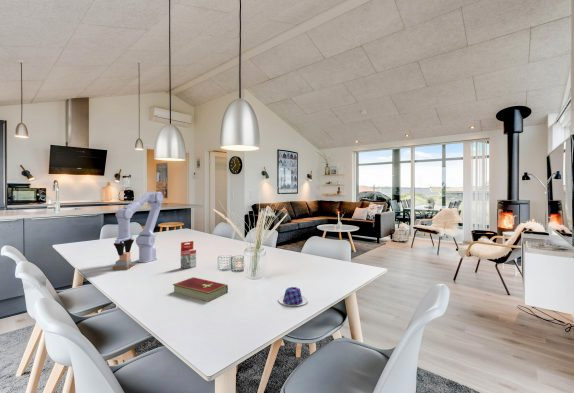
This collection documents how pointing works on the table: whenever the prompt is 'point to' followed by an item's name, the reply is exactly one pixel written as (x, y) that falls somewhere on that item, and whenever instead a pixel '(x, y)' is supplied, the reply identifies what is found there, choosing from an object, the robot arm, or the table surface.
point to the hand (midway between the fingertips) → (124, 253)
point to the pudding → (293, 297)
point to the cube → (124, 256)
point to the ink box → (188, 255)
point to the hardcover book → (200, 288)
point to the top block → (122, 263)
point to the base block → (123, 267)
